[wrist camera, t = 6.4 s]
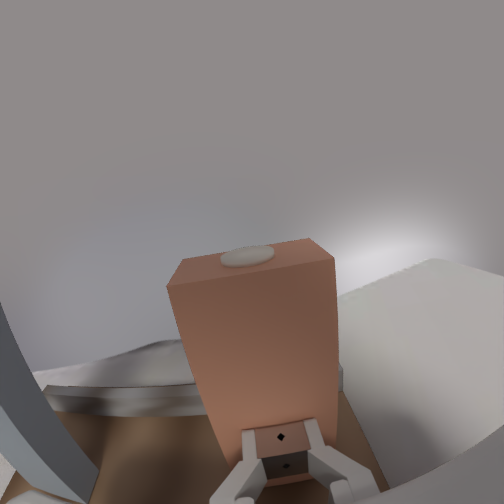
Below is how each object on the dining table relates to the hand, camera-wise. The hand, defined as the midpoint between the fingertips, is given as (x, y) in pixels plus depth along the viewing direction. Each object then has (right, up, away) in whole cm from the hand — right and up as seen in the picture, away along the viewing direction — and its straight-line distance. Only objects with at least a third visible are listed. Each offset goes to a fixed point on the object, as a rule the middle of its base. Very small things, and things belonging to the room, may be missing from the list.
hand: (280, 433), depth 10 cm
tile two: (-13, -7, +1) cm, 15 cm away
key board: (-6, -7, +4) cm, 10 cm away
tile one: (+1, -4, +3) cm, 5 cm away
